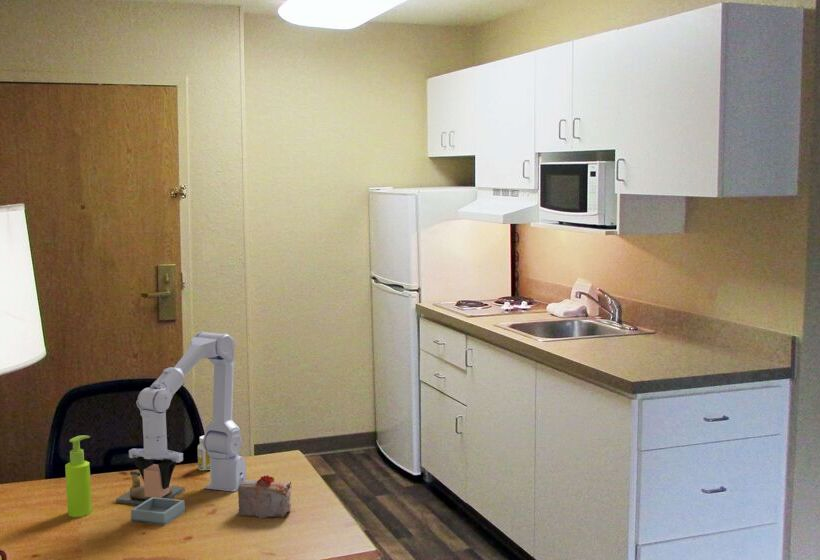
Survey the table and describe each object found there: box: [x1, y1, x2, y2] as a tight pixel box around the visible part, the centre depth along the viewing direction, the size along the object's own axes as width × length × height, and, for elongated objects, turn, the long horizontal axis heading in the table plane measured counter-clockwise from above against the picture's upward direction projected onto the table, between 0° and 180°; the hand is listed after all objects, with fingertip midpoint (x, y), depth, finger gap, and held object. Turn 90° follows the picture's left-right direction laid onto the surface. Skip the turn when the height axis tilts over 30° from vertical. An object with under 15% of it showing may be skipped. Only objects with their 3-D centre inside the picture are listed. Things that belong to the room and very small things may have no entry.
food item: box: [237, 474, 293, 519], centre depth 231 cm, size 14×8×10 cm, turn 83°
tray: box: [130, 497, 186, 526], centre depth 230 cm, size 10×10×3 cm
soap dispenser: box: [64, 434, 93, 518], centre depth 232 cm, size 6×7×20 cm
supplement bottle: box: [197, 435, 210, 471], centre depth 266 cm, size 5×5×10 cm
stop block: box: [143, 463, 170, 498], centre depth 229 cm, size 4×4×7 cm
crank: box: [129, 470, 173, 499], centre depth 244 cm, size 12×11×5 cm
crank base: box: [115, 485, 186, 506], centre depth 244 cm, size 13×13×1 cm
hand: (157, 486), depth 229 cm, fingers closed on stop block, 4 cm apart
